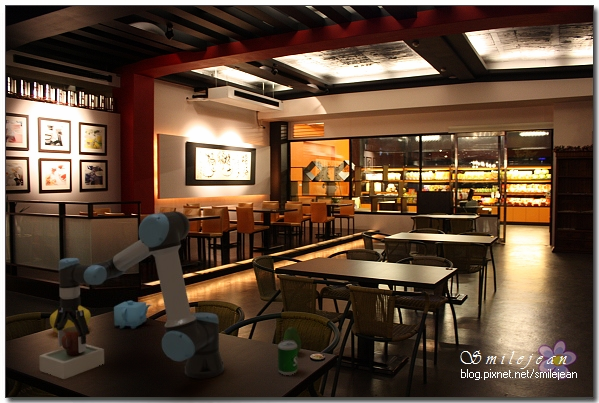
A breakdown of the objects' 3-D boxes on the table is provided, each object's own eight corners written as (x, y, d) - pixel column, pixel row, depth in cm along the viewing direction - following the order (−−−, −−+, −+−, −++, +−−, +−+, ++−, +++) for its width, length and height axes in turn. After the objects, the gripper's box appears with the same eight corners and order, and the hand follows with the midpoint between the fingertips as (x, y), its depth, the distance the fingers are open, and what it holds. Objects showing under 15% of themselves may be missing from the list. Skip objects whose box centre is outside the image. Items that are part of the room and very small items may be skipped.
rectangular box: (104, 363, 207) (103, 349, 206) (63, 379, 191) (63, 363, 191) (80, 356, 215) (79, 342, 215) (39, 370, 200) (39, 355, 199)
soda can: (290, 377, 191) (290, 347, 190) (274, 373, 195) (274, 343, 194) (301, 371, 197) (300, 341, 197) (285, 367, 201) (284, 338, 201)
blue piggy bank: (111, 330, 251) (111, 304, 251) (127, 320, 267) (126, 296, 266) (145, 331, 248) (144, 305, 248) (159, 322, 264) (158, 298, 263)
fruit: (285, 350, 220) (285, 324, 219) (302, 352, 218) (302, 325, 218) (280, 357, 212) (280, 329, 212) (299, 358, 211) (299, 330, 210)
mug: (73, 349, 209) (72, 325, 209) (91, 350, 208) (91, 326, 207) (53, 359, 198) (52, 334, 197) (73, 361, 196) (72, 335, 195)
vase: (58, 327, 255) (57, 290, 254) (95, 326, 257) (94, 289, 256) (44, 339, 237) (42, 300, 236) (84, 338, 239) (83, 298, 238)
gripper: (97, 298, 198) (99, 351, 199) (60, 291, 211) (62, 340, 212) (80, 302, 192) (82, 357, 193) (43, 294, 205) (45, 345, 206)
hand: (72, 348), depth 203 cm, fingers open, 13 cm apart
